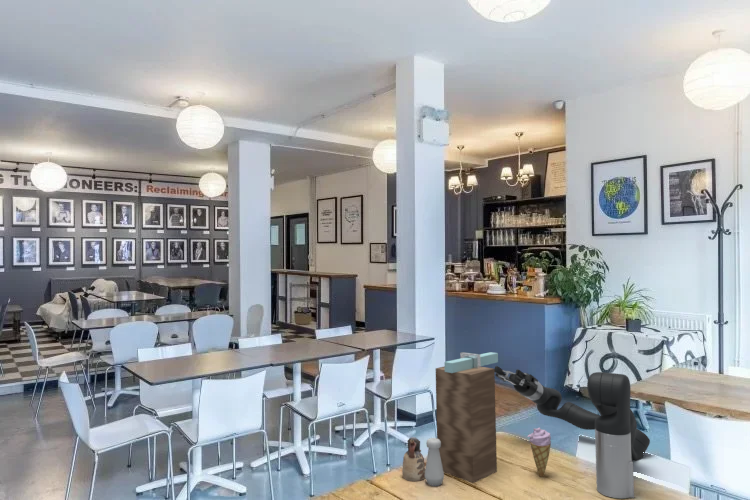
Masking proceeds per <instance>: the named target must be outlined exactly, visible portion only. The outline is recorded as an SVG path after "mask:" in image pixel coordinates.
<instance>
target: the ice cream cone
mask: <svg viewBox="0 0 750 500" xmlns="http://www.w3.org/2000/svg"><path fill="white" fill-rule="evenodd" d="M527 438H529V444H530V449H531V453H532V455H533V457H532V458H533V461H534V463H535V467H536V470H537V474H538V476H539V477H540V478H544V477H545V474H546V469H547V465H548V461H549V457H550V452H551V445H552V441H551V439H552V436H551V432H548V431H547V430H546V429H541V427H538V428H533V432H531V433H530V434H528V435H527Z"/></svg>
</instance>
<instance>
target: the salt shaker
mask: <svg viewBox="0 0 750 500" xmlns="http://www.w3.org/2000/svg"><path fill="white" fill-rule="evenodd" d="M426 447H427V449H428V450H427V456H426V462H425V463H426V464H425V479H424V480H425V481H426V483H427V485H429V486H431V487H438V486H441V485H442V483H443V481H444V478H445V472H443V467H442V462H441V457H440V452H439V448H440V447H441V441H440V440H439V439H437V437H431V438H427V440H426Z"/></svg>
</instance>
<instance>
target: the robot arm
mask: <svg viewBox="0 0 750 500" xmlns="http://www.w3.org/2000/svg"><path fill="white" fill-rule="evenodd" d="M493 369H494V374H495V377H496V378H498V379H500V380H501V381H502V382H503V383H504V382H505V383H506V382H509V383H510V384H512V385H513V388H514V390H515V392H517V393H519V394H520V395H522V396H523V397H525V398H526V399H528V400H530V401H532V402H533V403H534V404H536V409H537V411H538V412H539V413H540V414H541V415H543V416H547V417H551V418H556V419H559V420H562V421H565V422H567V423H568V424H570V425H573V426H575V427H576V428H578V429H581V430H589V431H590V430H591V431H592V430H594V441H595V443H594V444H595V445H594V446H595V448H594V449H595V470H596V472H595V473H596V476H595V477H596V478H595V479H596V491H597V492H598V493H599V494H601V495H603V496H606V497H609V498H614V499H628V498H631V499H632V498H633V499H634V498H635V483H634V482H635V481H634V463H633V461H639V460H642V458H643V457H644V455H645V453H646V451H647V450H648V448H649V446H650V444H651V440H650V439H651V438H649V436H647V434H645V433H644V432H643V431H641V430H639V429H638V425H637V420H636V417H635V414H634V411H633V410H632V409H631V382H630V379H629V377H628V376H627V375H625V374H622V373H613V372H602V371H597V372H592V373H591V374H590V375H589V377H588V379H587V383H586V387H587V393H588V396H589V400H590V402H591V403H592V404H593V406H594V407H595V409H596V410H597V411H598V413H599V414H597V413H594V412H592V411H590V410H587V409H585V408H583V407H581V406H579V405H577V404H575V403H573V402H570V401H566V402H564V403H563V405H561V407H560V404H561V402H562V399H563V398H562V394H561V392H560V391H559V390H557V389H555V388H551V387H547V386H544V385H542V383H540V381H539V380H538V379H537V378H536V377H535V376H534V375H532V374H529V373H528V372H523V371H522V370H520V369H515V370H516V371H515V372H513V371H510V370H504V369H503V368H501V367H500V366H498V365H496V366H495V367H494V368H493ZM559 407H560V408H559ZM643 452H644V453H643ZM643 454H644V455H643Z"/></svg>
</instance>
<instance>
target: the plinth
mask: <svg viewBox="0 0 750 500" xmlns="http://www.w3.org/2000/svg"><path fill="white" fill-rule="evenodd" d="M494 369H495V368H493V367H492V368H491V367H485V366H481V368H480V369H475V368H472V369H467V370H463V371H459V372H455V373H449V372H445V365H443V366H440V367H435V394H436V395H435V401H436V402H435V403H436V404H435V405H436V407H435V408H436V412H435V413H436V438H437V439H439V440H440V441H441V447H440V448H439V452H440V457H441V462H442V467H443V472H444V474H445V473H446V474H448V475H450V476H451V475H452V477H453V476H454V477H457V478H460V479H462V480H464V481H467V482H470V483H472V484H474V483H477V482H478V481H480V480H483V479H484V478H487V477H489V476H491V475H492V474H496V473H497V471H498V463H497V462H498V459H497V457H498V456H497V425H496V424H497V423H496V422H497V421H496V413H497V412H496V380H495V379H496V378H495V377H496V376H495V374H496V373H495V372H494Z"/></svg>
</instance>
